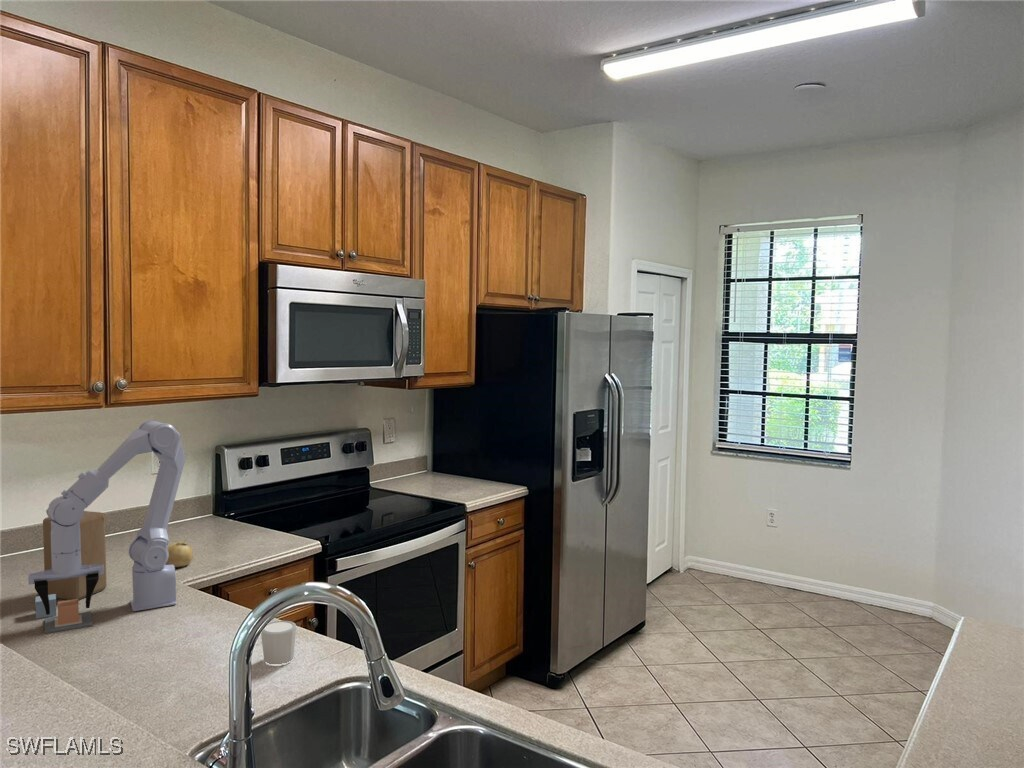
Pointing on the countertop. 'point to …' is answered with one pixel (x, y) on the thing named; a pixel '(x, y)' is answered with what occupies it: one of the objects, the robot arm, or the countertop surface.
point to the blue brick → (41, 609)
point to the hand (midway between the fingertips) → (68, 609)
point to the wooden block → (90, 555)
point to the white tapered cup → (278, 642)
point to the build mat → (53, 626)
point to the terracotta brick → (68, 611)
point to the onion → (179, 554)
